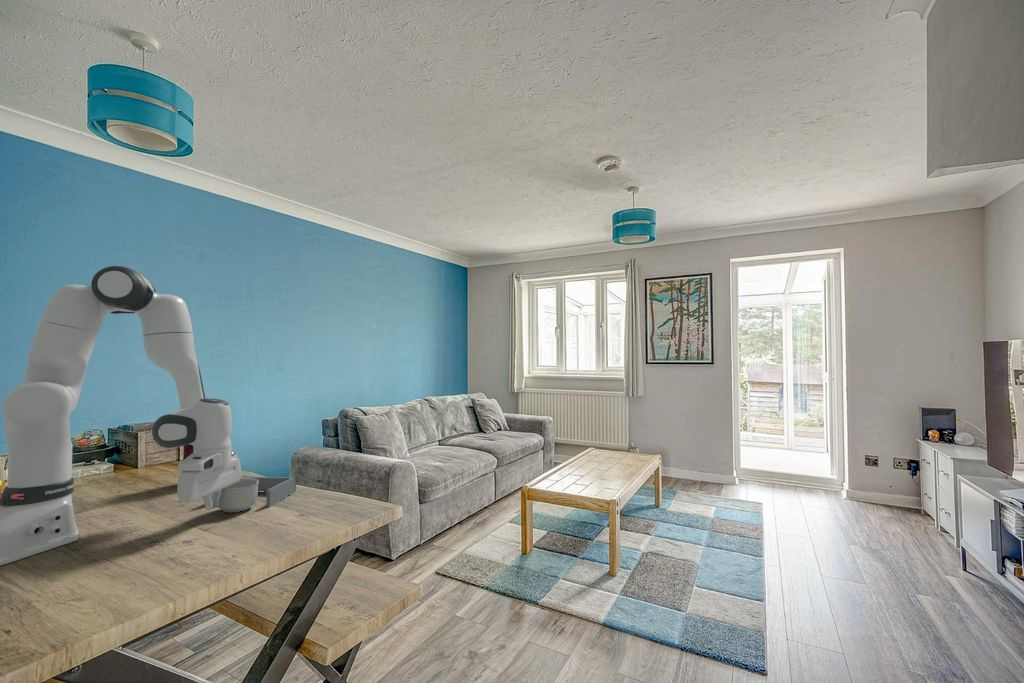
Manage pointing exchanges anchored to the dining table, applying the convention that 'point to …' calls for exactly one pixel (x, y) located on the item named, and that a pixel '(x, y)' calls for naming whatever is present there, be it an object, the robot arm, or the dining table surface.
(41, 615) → the dining table surface
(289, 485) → the box
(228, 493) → the teacup
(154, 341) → the robot arm
